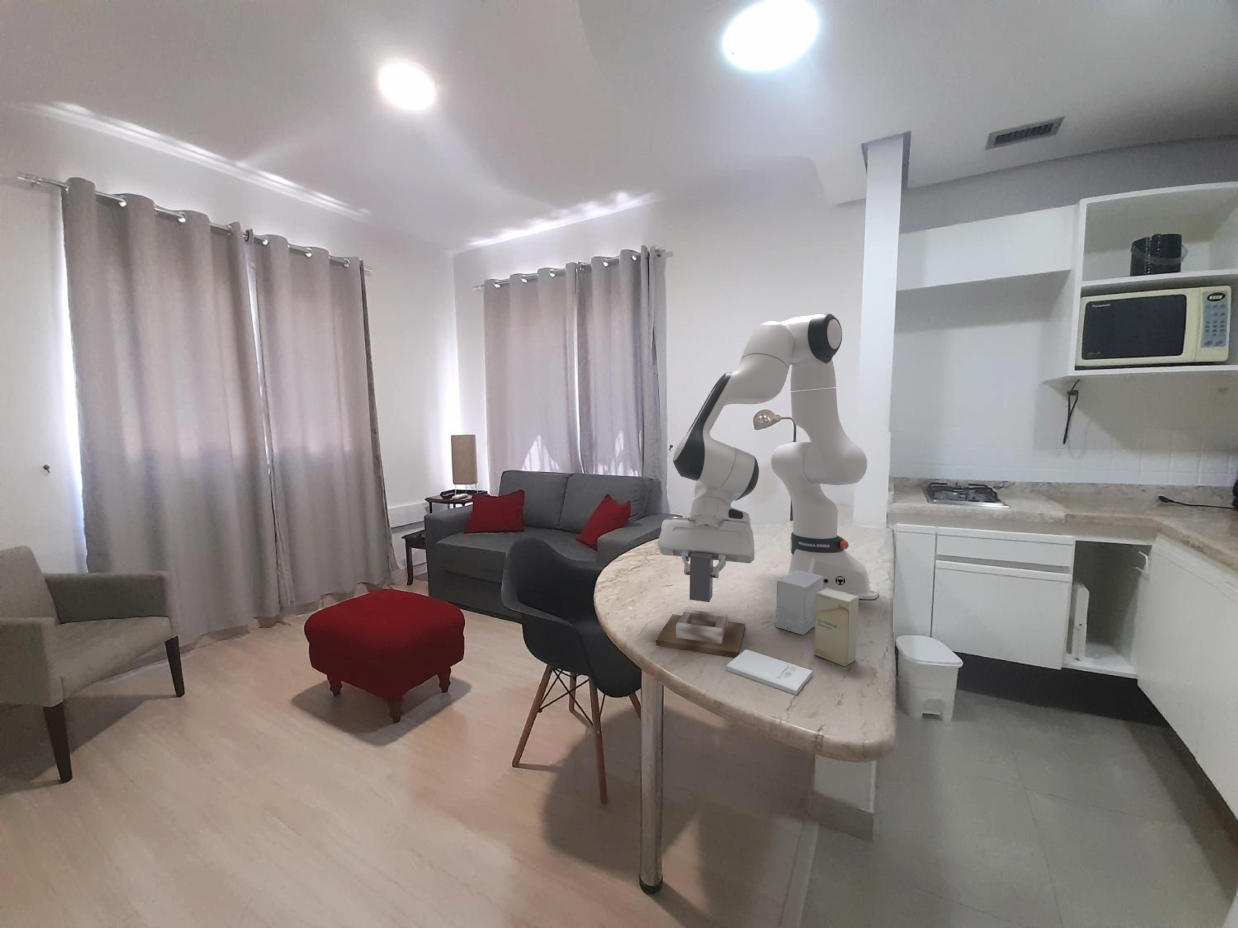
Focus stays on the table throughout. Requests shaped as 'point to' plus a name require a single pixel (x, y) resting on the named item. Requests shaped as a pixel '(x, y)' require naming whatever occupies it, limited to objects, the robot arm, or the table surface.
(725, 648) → the socket board
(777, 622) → the skincare box
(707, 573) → the plug
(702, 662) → the table surface
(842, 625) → the skincare box
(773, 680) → the external hard drive
